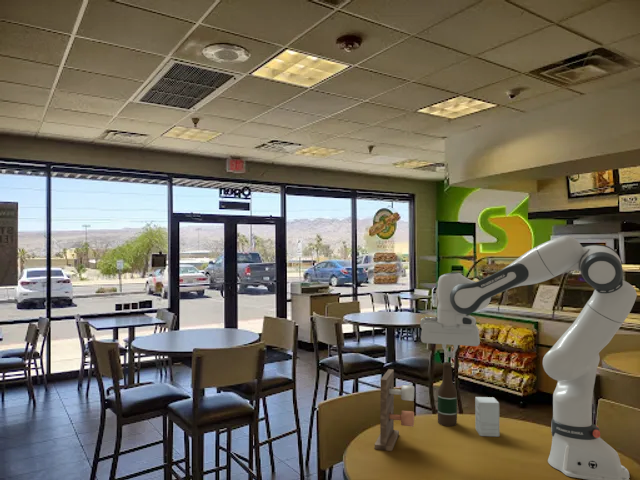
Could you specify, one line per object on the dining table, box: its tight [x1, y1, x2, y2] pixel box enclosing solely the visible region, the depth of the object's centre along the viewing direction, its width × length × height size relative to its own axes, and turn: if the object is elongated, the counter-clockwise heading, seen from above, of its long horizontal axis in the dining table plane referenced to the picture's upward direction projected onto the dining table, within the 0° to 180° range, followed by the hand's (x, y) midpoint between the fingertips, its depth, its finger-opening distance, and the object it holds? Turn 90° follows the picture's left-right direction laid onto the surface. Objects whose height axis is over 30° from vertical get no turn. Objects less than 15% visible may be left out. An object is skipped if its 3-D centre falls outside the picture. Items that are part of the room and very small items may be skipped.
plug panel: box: [374, 368, 400, 452], centre depth 173 cm, size 6×16×24 cm, turn 162°
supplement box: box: [474, 396, 500, 437], centre depth 182 cm, size 7×7×13 cm
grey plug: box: [389, 384, 415, 402], centre depth 172 cm, size 10×5×5 cm, turn 72°
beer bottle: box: [437, 361, 458, 427], centre depth 192 cm, size 8×8×24 cm
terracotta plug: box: [389, 410, 415, 427], centre depth 172 cm, size 10×5×5 cm, turn 72°
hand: (449, 357), depth 170 cm, fingers closed
